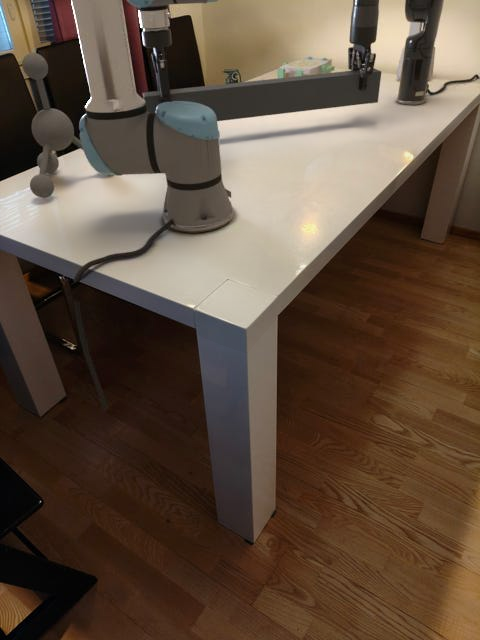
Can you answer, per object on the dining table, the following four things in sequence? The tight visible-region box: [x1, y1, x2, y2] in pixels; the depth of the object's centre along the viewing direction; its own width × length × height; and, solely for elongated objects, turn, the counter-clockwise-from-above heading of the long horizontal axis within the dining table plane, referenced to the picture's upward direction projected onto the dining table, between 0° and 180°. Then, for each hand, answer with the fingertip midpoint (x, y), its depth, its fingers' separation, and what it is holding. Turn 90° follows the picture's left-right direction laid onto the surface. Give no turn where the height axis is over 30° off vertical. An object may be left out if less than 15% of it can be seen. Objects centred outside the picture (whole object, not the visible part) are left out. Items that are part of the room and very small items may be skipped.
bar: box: [142, 67, 382, 122], centre depth 143 cm, size 70×5×9 cm, turn 104°
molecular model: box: [21, 52, 84, 199], centre depth 119 cm, size 24×22×30 cm
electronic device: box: [396, 22, 436, 81], centre depth 188 cm, size 12×8×30 cm, turn 105°
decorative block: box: [276, 56, 336, 79], centre depth 205 cm, size 26×6×20 cm
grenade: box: [221, 68, 242, 84], centre depth 184 cm, size 7×6×10 cm
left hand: (167, 121), depth 141 cm, fingers closed on bar, 5 cm apart
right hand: (358, 88), depth 148 cm, fingers closed on bar, 5 cm apart
